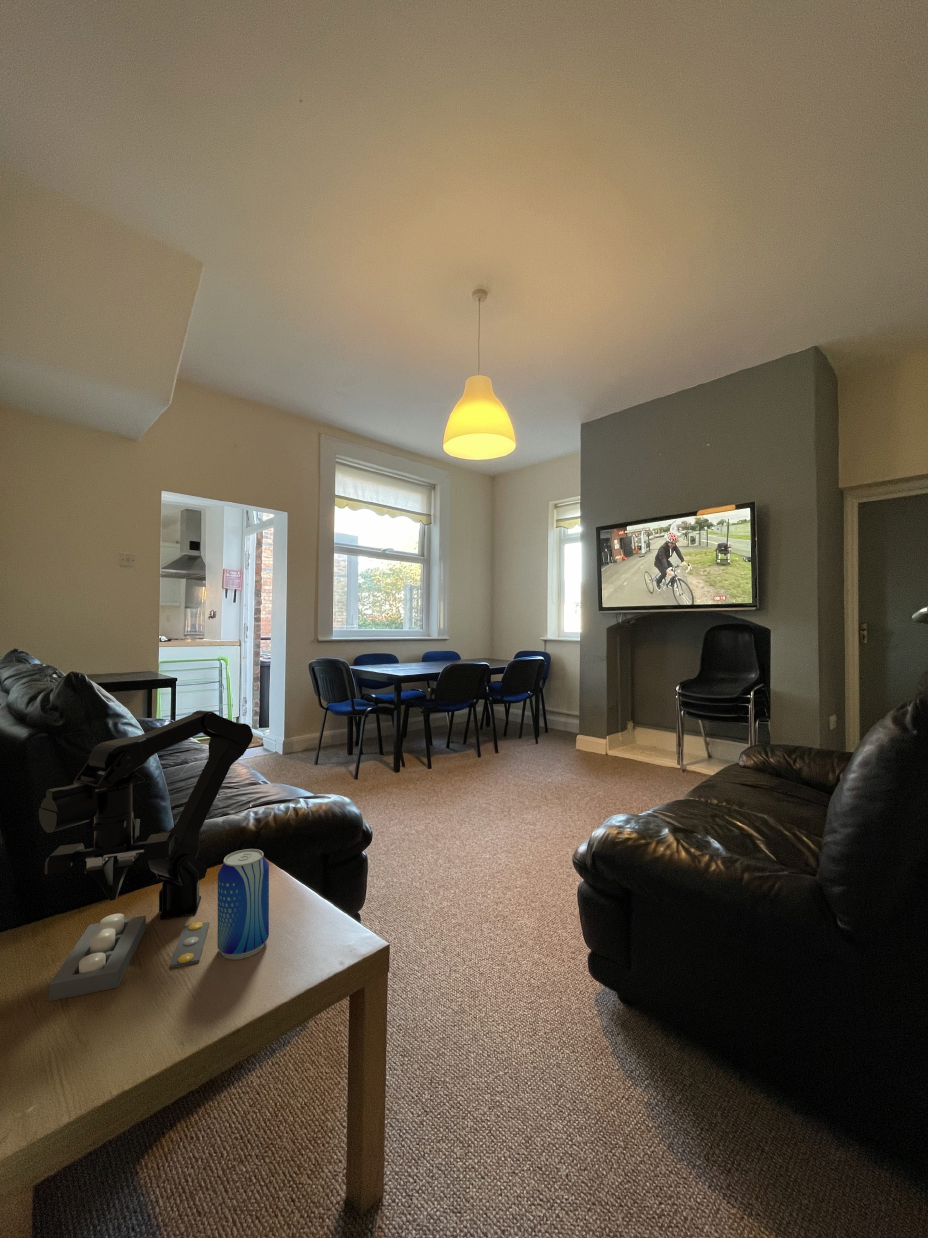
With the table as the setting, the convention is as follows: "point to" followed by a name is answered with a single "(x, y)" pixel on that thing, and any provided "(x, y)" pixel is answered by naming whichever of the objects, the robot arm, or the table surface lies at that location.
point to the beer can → (243, 904)
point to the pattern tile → (190, 944)
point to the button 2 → (113, 923)
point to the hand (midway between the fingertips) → (113, 899)
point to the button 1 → (92, 962)
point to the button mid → (102, 941)
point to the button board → (107, 978)
